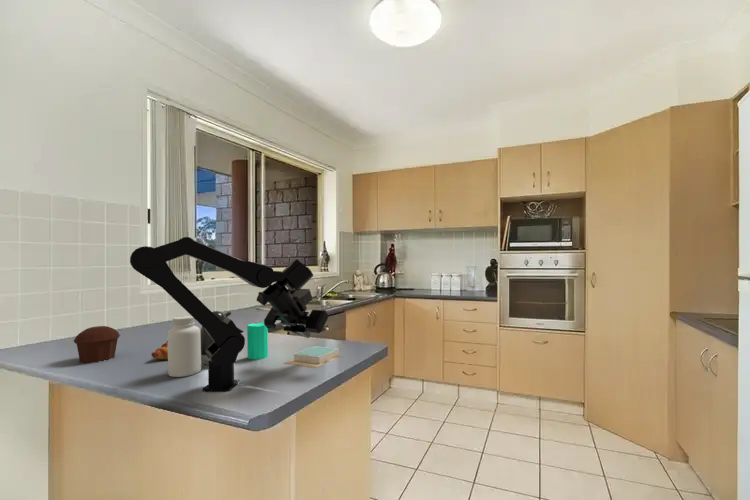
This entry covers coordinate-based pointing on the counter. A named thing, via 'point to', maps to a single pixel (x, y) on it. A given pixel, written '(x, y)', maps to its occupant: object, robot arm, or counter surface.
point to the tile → (316, 354)
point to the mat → (307, 364)
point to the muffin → (96, 344)
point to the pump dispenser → (205, 337)
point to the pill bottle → (184, 347)
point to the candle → (257, 341)
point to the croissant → (161, 352)
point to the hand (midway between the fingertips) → (308, 336)
